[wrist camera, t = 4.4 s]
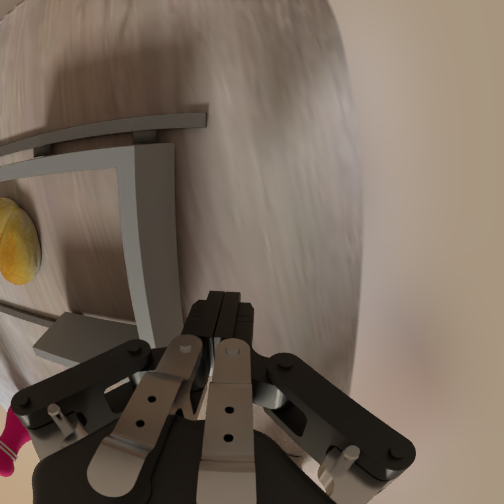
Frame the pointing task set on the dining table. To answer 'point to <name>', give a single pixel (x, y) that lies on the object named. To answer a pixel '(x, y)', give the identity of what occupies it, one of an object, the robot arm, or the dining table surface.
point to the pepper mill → (11, 442)
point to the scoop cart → (134, 245)
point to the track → (88, 131)
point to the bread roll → (18, 244)
